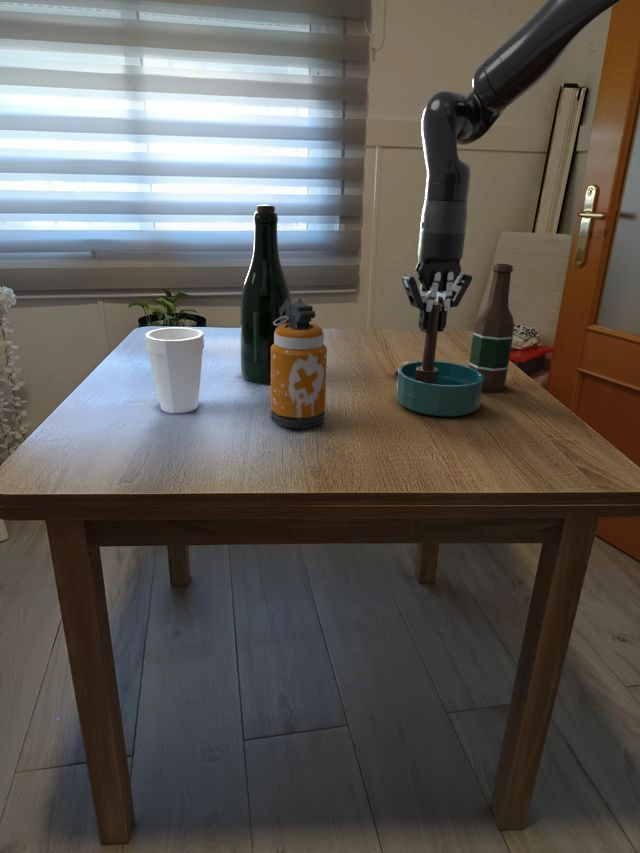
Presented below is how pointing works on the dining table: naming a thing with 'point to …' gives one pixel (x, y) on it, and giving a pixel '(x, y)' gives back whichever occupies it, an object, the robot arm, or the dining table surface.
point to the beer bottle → (494, 333)
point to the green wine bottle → (262, 298)
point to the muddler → (430, 350)
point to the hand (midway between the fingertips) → (431, 330)
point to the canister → (298, 368)
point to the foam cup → (176, 366)
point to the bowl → (440, 390)
